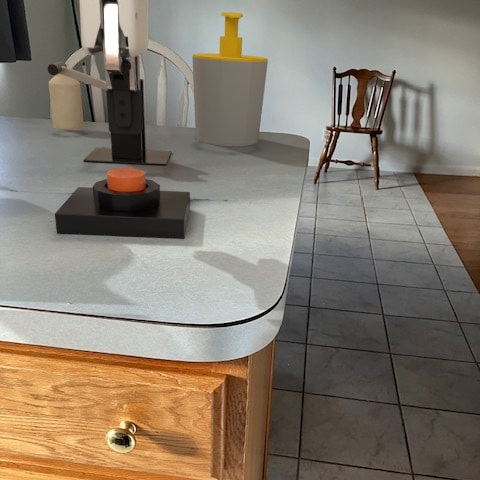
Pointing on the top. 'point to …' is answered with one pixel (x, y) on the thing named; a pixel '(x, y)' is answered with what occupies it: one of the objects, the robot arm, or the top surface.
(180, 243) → the top surface
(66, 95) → the candle
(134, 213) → the control block
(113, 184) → the button
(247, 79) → the soap bottle
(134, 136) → the switch bracket
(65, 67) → the switch lever
